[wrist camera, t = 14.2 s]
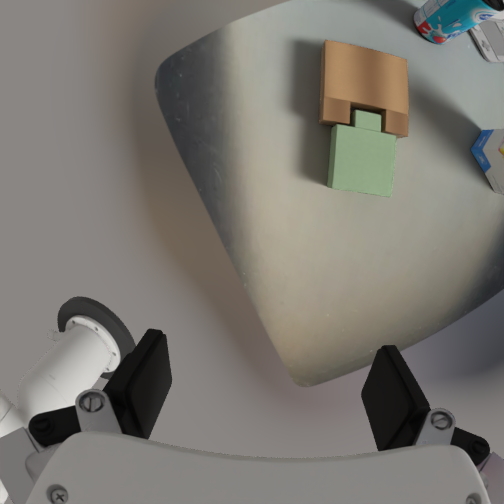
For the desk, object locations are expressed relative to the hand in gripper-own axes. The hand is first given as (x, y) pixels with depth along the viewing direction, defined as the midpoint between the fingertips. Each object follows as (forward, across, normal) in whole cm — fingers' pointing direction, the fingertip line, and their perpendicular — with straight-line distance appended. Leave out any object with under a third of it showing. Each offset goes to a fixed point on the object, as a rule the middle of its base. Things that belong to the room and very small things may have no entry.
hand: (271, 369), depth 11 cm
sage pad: (+22, -9, -11) cm, 27 cm away
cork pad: (+22, -10, -19) cm, 31 cm away
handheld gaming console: (+22, -36, -39) cm, 57 cm away
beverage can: (+22, -20, -33) cm, 45 cm away
